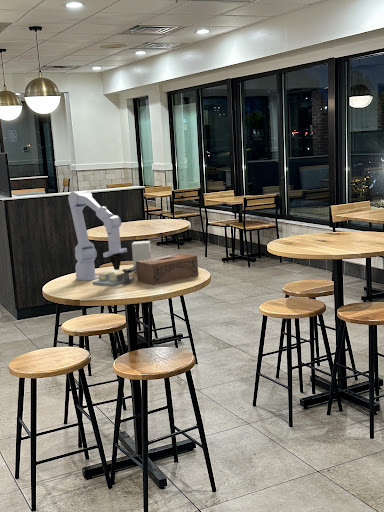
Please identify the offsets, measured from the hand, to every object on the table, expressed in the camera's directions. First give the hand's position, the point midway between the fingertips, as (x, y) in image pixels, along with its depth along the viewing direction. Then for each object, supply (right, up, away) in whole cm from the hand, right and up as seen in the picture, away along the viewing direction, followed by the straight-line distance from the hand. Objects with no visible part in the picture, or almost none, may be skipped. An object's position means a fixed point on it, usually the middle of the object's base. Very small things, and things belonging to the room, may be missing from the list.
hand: (116, 269), depth 305 cm
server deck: (0, -6, +2) cm, 6 cm away
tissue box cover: (+24, -5, +3) cm, 25 cm away
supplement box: (+10, -1, +28) cm, 30 cm away
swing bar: (+7, -1, +3) cm, 8 cm away
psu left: (-5, -5, +5) cm, 9 cm away
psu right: (0, -5, +1) cm, 5 cm away
